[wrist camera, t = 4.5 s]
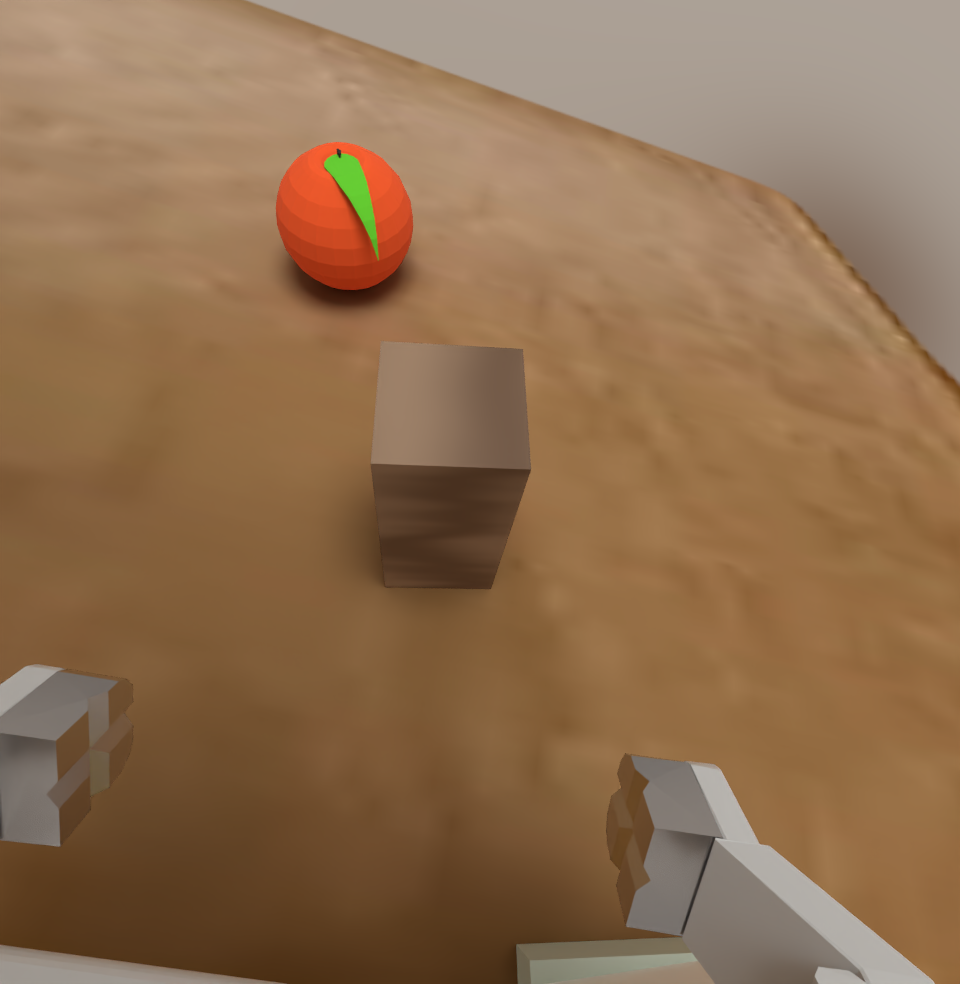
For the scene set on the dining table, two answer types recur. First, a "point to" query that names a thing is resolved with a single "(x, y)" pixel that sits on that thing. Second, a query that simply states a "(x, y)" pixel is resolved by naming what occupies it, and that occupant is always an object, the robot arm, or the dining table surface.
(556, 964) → the tower base
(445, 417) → the walnut post
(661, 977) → the tower cap
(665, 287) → the dining table surface
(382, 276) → the clementine
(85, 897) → the dining table surface
